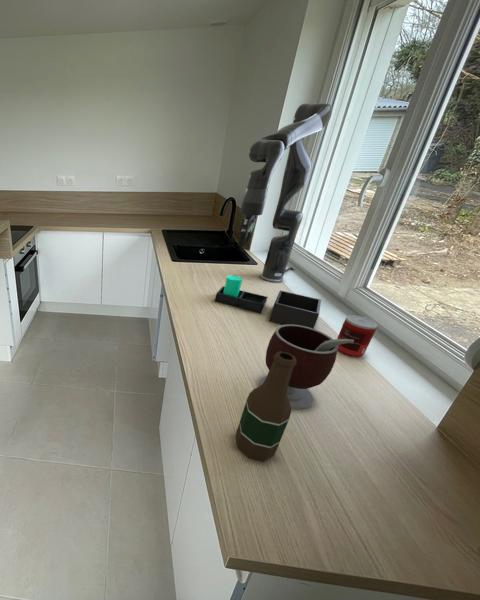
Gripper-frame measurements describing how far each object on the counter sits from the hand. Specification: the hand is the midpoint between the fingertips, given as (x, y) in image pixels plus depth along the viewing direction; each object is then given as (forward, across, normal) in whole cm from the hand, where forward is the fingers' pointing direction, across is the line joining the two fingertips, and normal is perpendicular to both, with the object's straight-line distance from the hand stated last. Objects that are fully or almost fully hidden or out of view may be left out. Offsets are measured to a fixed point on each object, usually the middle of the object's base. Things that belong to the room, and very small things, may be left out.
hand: (243, 243), depth 124 cm
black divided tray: (+25, 0, -4) cm, 25 cm away
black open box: (+25, -2, -23) cm, 34 cm away
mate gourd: (+26, -50, -27) cm, 62 cm away
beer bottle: (+26, -74, -23) cm, 81 cm away
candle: (+25, 0, 0) cm, 25 cm away
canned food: (+25, -15, -40) cm, 49 cm away
